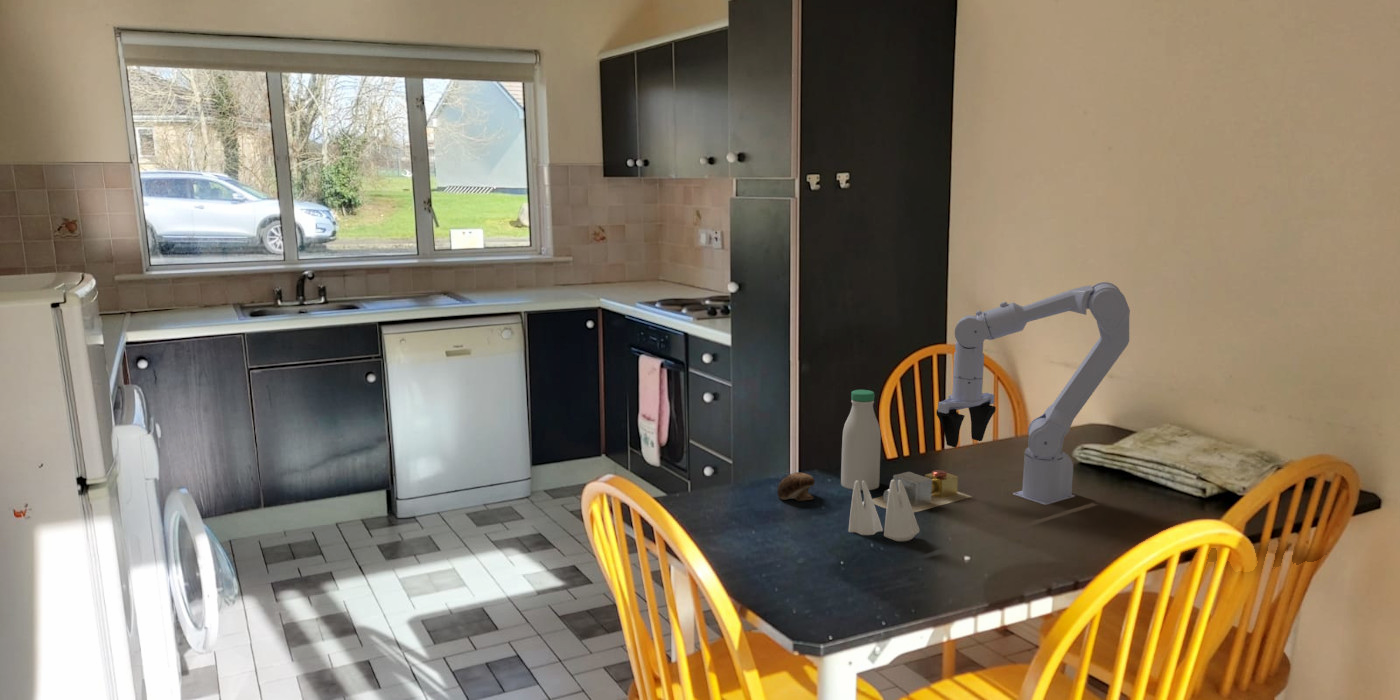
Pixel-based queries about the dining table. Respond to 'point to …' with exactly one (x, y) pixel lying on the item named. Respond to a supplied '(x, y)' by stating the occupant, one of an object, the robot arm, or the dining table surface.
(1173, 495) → the dining table surface
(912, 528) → the salt and pepper shakers
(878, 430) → the milk bottle
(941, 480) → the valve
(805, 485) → the mushroom
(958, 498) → the board
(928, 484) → the grey rectangular block
